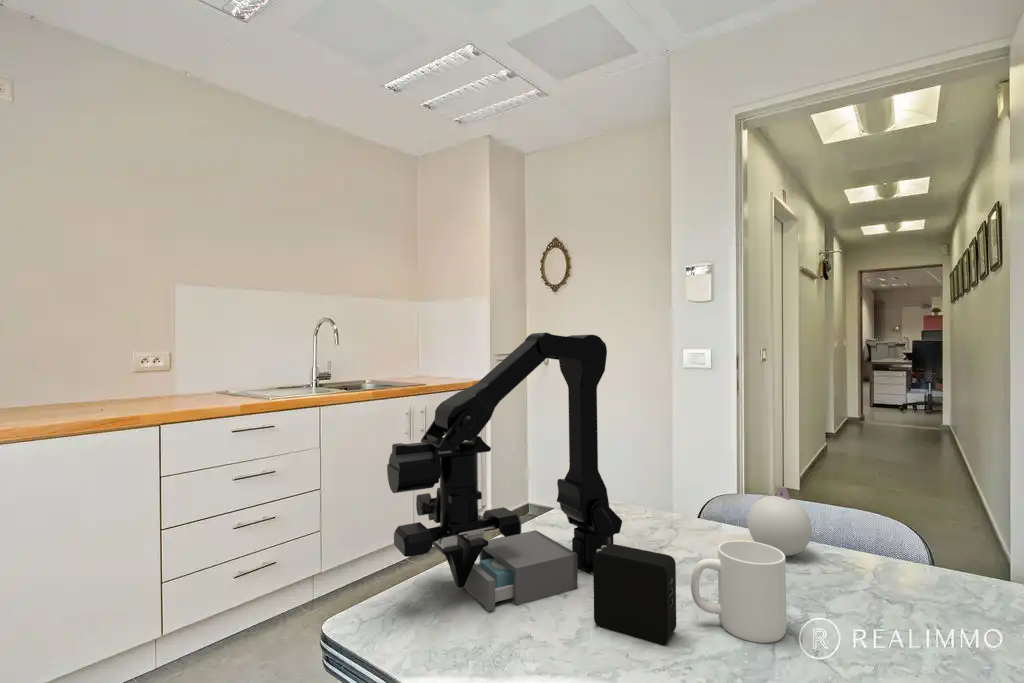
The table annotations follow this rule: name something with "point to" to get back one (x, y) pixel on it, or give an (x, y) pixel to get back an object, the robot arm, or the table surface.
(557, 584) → the grey drawer box
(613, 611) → the electronic device
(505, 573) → the block
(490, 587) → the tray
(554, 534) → the table surface
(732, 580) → the cup
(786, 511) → the ornament
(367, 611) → the table surface
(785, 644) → the table surface
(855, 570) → the table surface
